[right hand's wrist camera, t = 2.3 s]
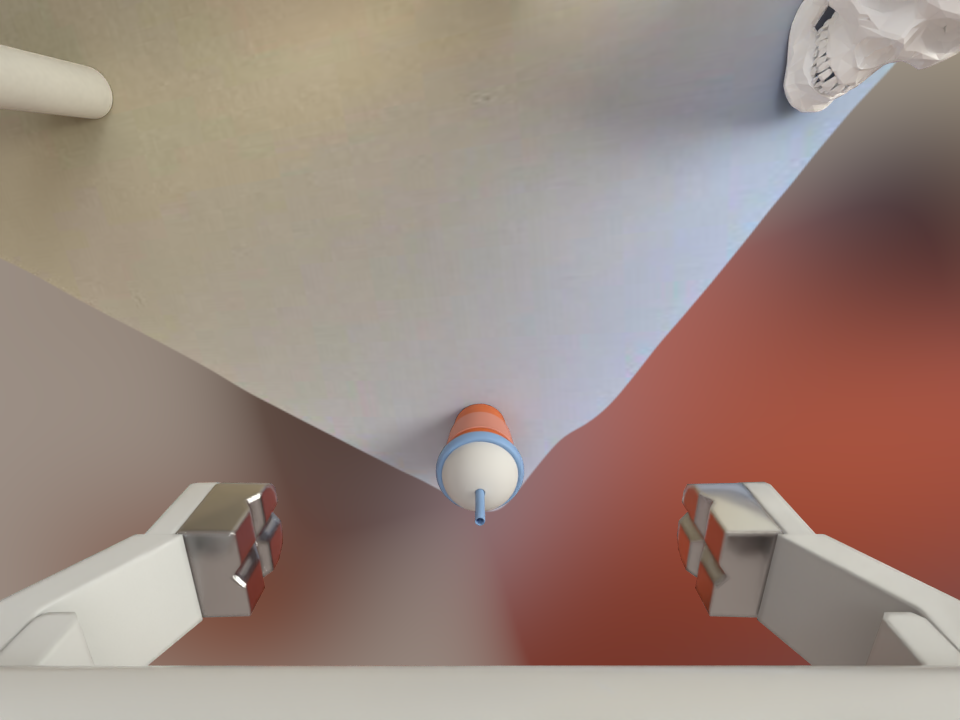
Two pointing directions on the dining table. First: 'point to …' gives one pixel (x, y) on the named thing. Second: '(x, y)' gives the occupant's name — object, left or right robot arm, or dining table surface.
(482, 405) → the cup with straw
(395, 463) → the dining table surface
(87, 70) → the white cylinder
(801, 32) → the skull
